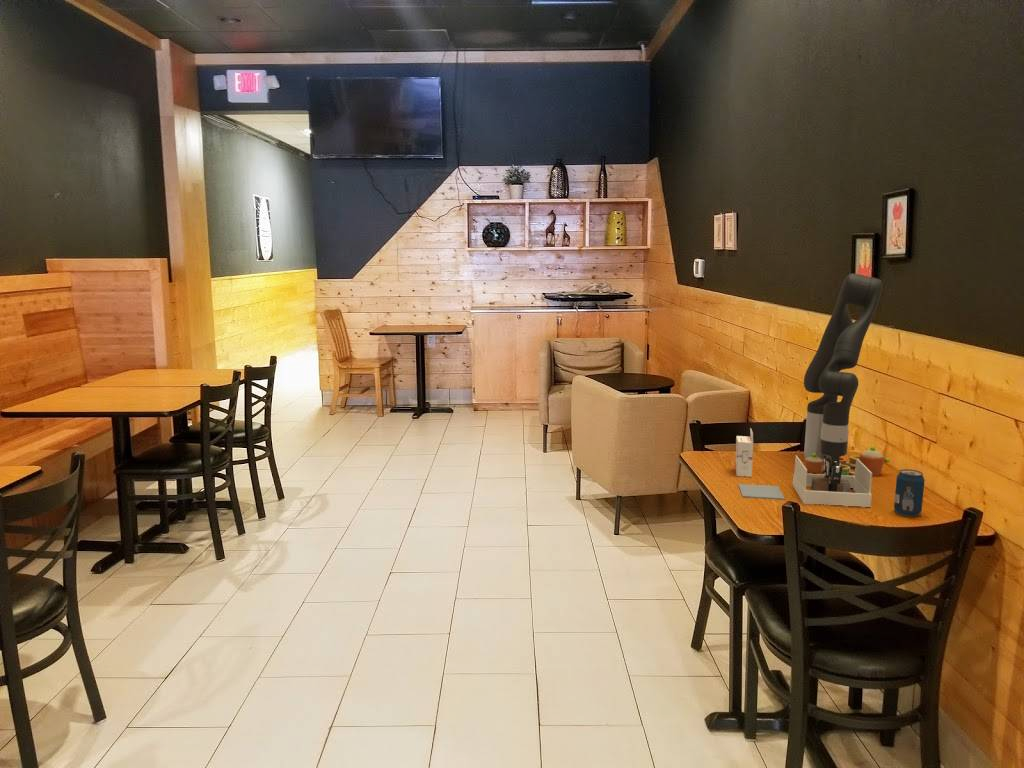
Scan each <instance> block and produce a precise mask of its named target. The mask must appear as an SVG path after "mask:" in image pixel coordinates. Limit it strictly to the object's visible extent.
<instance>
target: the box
mask: <svg viewBox="0 0 1024 768" xmlns="http://www.w3.org/2000/svg"><path fill="white" fill-rule="evenodd" d="M833 480H836V478H834V479H833ZM850 487H851V483H850V482H849V481H848V479H842V478H841V480H840V484H837V492H847V493H851V489H850ZM810 488H811V489H810V491H828V489H829V478H823V477H812V484H811V487H810Z"/></svg>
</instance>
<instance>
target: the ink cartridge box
mask: <svg viewBox="0 0 1024 768" xmlns="http://www.w3.org/2000/svg"><path fill="white" fill-rule="evenodd" d="M749 432H750V436H745V435H744V436H743V435H736V438H735V444H736V445H735V462H734V470H735V474H736V477H744V476H745V477H747V478H748V477H750V478H752V476H753V459H754V457H753V456H754V432H753V430H752V428H751V427H750V428H749Z"/></svg>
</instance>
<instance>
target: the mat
mask: <svg viewBox="0 0 1024 768" xmlns="http://www.w3.org/2000/svg"><path fill="white" fill-rule="evenodd" d="M737 486H738V489H739V491H740V495H741V496H742V498H751V499H752V498H753V499H768V500H785V499H786V498H785V496H784V494H783V492H782V490H781V489H780V487H779V486H778V485H763V484H747V483H746V484H744V483H738V485H737Z"/></svg>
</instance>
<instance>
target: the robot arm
mask: <svg viewBox="0 0 1024 768" xmlns="http://www.w3.org/2000/svg"><path fill="white" fill-rule="evenodd" d="M882 292H883V281H882V280H881V279H880V278H876V277H873V276H867V275H864V274H859V273H854V272H853V273H849V274H848V275H847V276H846V277H845V278H844V280H843V282H842V286H841V288H840V290H839V294H838V297H837V300H836V303H835V307H834V308H833V311H832V314H831V316H830V319H829V321H828V322H827V325H826V327H825V329H824V331H823V335H822V337H821V340H820V343H819V346H818V348H817V350H816V353H815V355H814V356H813V358H812V359H811V361H810V363H809V364H808V367H807V369H806V371H805V374H804V378H803V387H804V389H805V391H807V392H808V393H812V394H814V393H815V394H817V393H818V394H823V395H822V396H821V397H819V398H818V399H816V400H815V399H814V400H813V401H810V402H808V403H807V406H806V407H807V408H806V422H805V436H804V450H803V451H804V452H803V459H804V460H805V458H808V457H810V456H812V453H816V457H818V458H820V459H822V460H823V465H822V474H824V478H829V489H828V492H837V484H840V480H841V474H842V469H843V468H842V466H841V461H840V459H839V457H844V456H846V455H848V448H849V447H848V446H849V445H848V444H849V435H850V434H849V432H850V431H849V430H850V429H849V421H850V412H851V411H850V410H851V407H852V403H853V400H854V397H855V396H856V393H857V390H858V388H859V379H858V377H857V375H856V374H854V373H853V372H845V371H843V370H848V369H853V368H855V367H856V366H857V364H858V363H859V362H858V361H859V357H860V354H861V350H862V347H863V343H864V342H863V341H864V340H865V336H866V334H867V332H868V330H869V327H870V326H871V322H872V320H873V317H874V316H875V313H876V309H877V307H878V304H879V302H880V299H881V296H882ZM849 305H852V306H857V307H861V308H864V309H863V311H862V313H861V314H860V315H859V317H858V318H857V319H856V320H854V321H853V319H852V317H851V314H850V311H849ZM838 396H840V397H841V400H840V401H838ZM834 477H836V480H833V479H834Z"/></svg>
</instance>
